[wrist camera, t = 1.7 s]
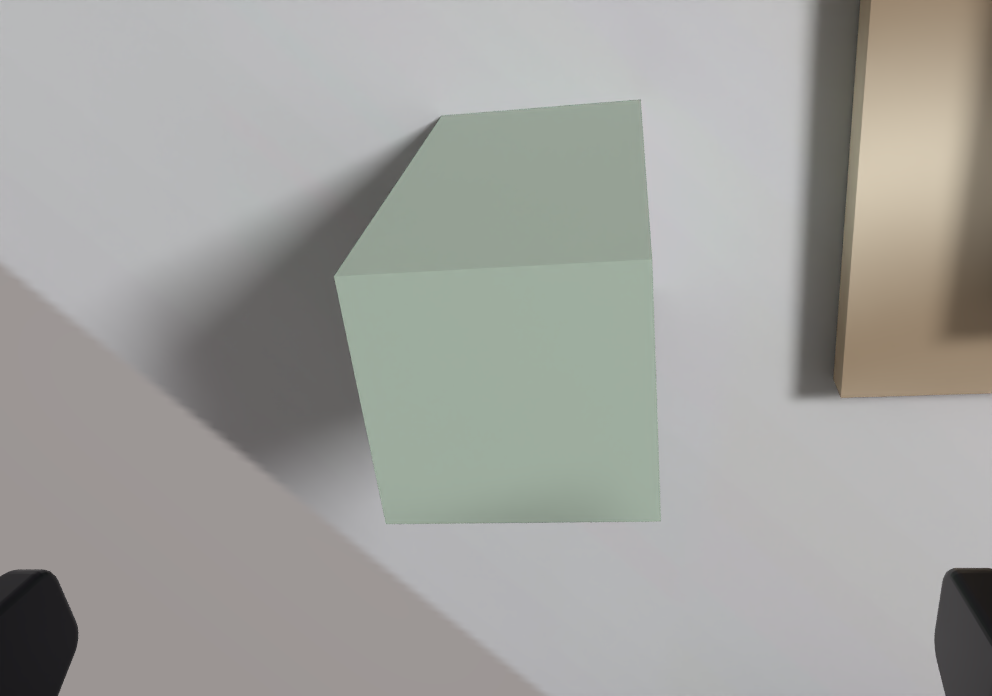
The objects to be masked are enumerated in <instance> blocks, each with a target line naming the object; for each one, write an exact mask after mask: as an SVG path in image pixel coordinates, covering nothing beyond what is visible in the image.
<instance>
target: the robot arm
mask: <svg viewBox="0 0 992 696" xmlns="http://www.w3.org/2000/svg"><path fill="white" fill-rule="evenodd" d="M77 642H78V627H77V623H76V621H75V618H74V616H73V614H72V611H71V609H70V607H69V604H68V602H67V600H66V598H65V595H64V593H63V591H62V588H61V586H60V584H59V581H58V580H57V578H56V576H55V575H53V574H52V573H51V572H50V571H47V570H13V571H10V572H8V573H6V574H4V575H2V576H0V696H58V694H59V691H60V689H61V686H62V684H63V681H64V679H65V676H66V674H67V671H68V669H69V666H70V664H71V661H72V658H73V656H74V653H75V651H76V647H77ZM934 643H935V653H936V659H937V663H938V667H939V671H940V675H941V679H942V683H943V687H944V691H945V695H946V696H992V569H990V568H953V569H951V570H949V571H947V572H946V574H945V576H944V578H943V582H942V588H941V594H940V601H939V608H938V614H937V621H936V628H935V638H934Z"/></svg>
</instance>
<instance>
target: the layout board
mask: <svg viewBox="0 0 992 696" xmlns="http://www.w3.org/2000/svg"><path fill="white" fill-rule="evenodd" d="M833 379H834V382H835V384H836V387H837V389H838V392H839V394H840V397H841V398H850V397H883V396H916V395H950V394H983V393H992V0H860V12H859V26H858V40H857V54H856V68H855V82H854V96H853V110H852V124H851V138H850V152H849V166H848V180H847V194H846V208H845V222H844V236H843V250H842V264H841V278H840V292H839V306H838V321H837V335H836V349H835V363H834V377H833Z"/></svg>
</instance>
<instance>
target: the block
mask: <svg viewBox="0 0 992 696" xmlns="http://www.w3.org/2000/svg"><path fill="white" fill-rule="evenodd" d="M334 279H335V284H336V289H337V294H338V298H339V303H340V308H341V313H342V317H343V322H344V327H345V332H346V336H347V341H348V346H349V351H350V356H351V360H352V365H353V370H354V375H355V379H356V384H357V389H358V394H359V398H360V403H361V408H362V413H363V417H364V422H365V427H366V432H367V436H368V441H369V446H370V451H371V455H372V460H373V465H374V470H375V474H376V479H377V484H378V489H379V493H380V498H381V503H382V508H383V512H384V517H385V522H386V524H448V523H550V522H652V521H661V513H660V483H659V452H658V422H657V392H656V362H655V332H654V302H653V271H652V251H651V237H650V223H649V209H648V195H647V182H646V168H645V154H644V140H643V126H642V112H641V100H629V101H617V102H605V103H592V104H580V105H568V106H556V107H543V108H531V109H519V110H507V111H494V112H482V113H470V114H458V115H445V116H441V118H440V119H439V121H438V122H437V124H436V125H435V127H434V128H433V130H432V131H431V133H430V134H429V135H428V137H427V138H426V140H425V141H424V143H423V144H422V146H421V147H420V149H419V150H418V152H417V153H416V155H415V156H414V158H413V159H412V161H411V162H410V164H409V165H408V167H407V168H406V170H405V171H404V173H403V174H402V176H401V177H400V179H399V180H398V182H397V183H396V185H395V186H394V188H393V189H392V191H391V192H390V194H389V195H388V197H387V198H386V200H385V201H384V203H383V204H382V206H381V207H380V209H379V210H378V211H377V213H376V214H375V216H374V217H373V219H372V220H371V222H370V223H369V225H368V226H367V228H366V229H365V231H364V232H363V234H362V235H361V237H360V238H359V240H358V241H357V243H356V244H355V246H354V247H353V249H352V250H351V252H350V253H349V255H348V256H347V258H346V259H345V261H344V262H343V264H342V265H341V267H340V268H339V270H338V271H337V273H336V274H335V276H334Z"/></svg>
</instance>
